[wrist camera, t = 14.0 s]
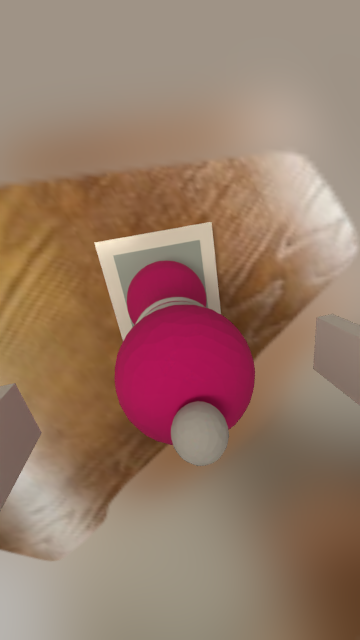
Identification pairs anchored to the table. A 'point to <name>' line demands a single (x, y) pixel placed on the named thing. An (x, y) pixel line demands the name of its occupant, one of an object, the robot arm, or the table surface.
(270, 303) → the table surface
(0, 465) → the robot arm
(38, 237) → the table surface
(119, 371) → the pepper mill
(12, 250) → the table surface
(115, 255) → the base
